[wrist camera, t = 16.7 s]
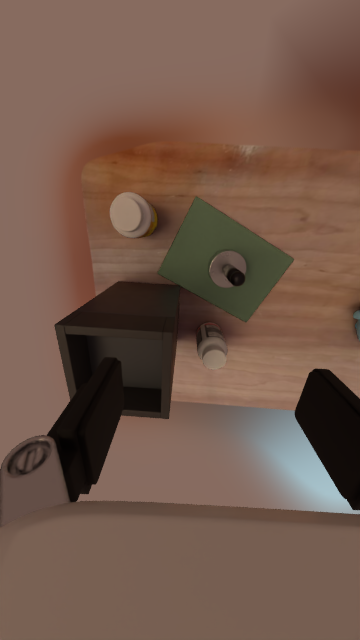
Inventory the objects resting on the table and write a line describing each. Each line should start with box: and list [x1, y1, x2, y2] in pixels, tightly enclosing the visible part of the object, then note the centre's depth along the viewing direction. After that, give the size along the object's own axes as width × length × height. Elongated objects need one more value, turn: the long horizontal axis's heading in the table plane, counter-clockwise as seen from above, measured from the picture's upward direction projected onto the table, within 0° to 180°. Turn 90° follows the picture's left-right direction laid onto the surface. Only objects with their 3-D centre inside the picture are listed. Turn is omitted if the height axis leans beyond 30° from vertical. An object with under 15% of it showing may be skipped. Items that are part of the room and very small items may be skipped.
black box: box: [55, 281, 180, 419], centre depth 32 cm, size 12×12×20 cm
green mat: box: [158, 196, 294, 322], centre depth 36 cm, size 20×14×1 cm
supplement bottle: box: [110, 192, 158, 238], centre depth 29 cm, size 6×6×10 cm
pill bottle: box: [196, 322, 228, 370], centre depth 38 cm, size 5×5×10 cm
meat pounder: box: [208, 249, 246, 288], centre depth 31 cm, size 6×6×12 cm
